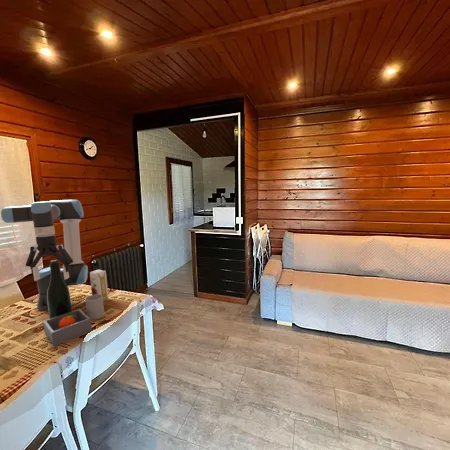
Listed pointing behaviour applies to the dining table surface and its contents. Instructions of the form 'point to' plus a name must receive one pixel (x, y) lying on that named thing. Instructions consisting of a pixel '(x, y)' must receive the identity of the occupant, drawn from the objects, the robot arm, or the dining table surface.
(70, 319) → the tomato
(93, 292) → the juice carton
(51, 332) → the bin
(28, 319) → the dining table surface
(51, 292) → the wine bottle
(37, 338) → the dining table surface
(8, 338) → the dining table surface
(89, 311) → the mug
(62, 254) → the robot arm
